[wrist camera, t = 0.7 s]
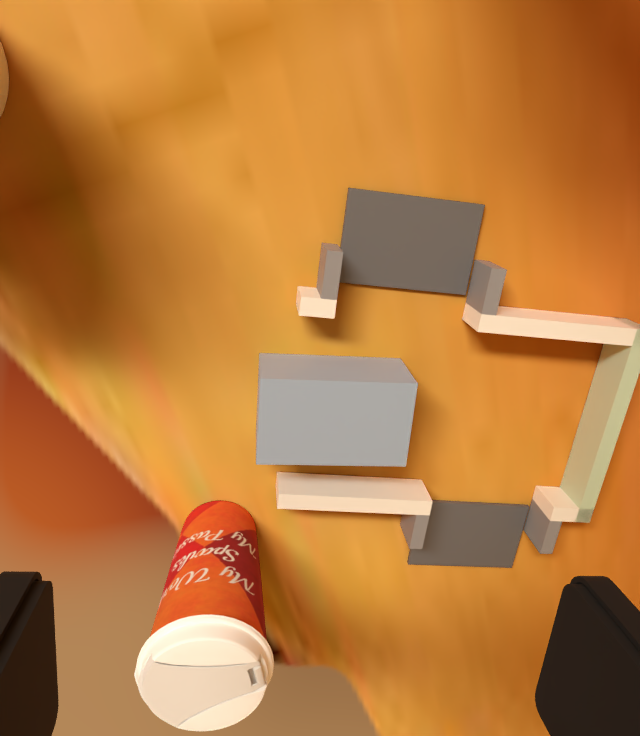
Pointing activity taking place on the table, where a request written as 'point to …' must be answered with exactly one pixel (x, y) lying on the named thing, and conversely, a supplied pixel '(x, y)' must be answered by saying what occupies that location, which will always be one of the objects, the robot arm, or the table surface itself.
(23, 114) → the table surface
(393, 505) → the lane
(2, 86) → the reusable coffee cup
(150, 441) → the table surface
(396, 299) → the table surface
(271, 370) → the block
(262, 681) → the paper cup
